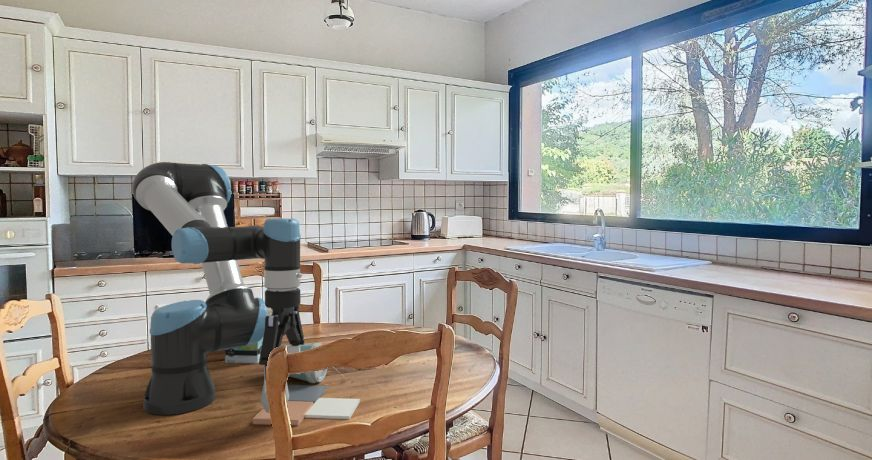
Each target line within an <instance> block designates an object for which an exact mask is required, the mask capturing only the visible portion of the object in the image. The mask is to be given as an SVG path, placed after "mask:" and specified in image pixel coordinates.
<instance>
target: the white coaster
mask: <svg viewBox="0 0 872 460" xmlns="http://www.w3.org/2000/svg"><path fill="white" fill-rule="evenodd" d="M360 402H361V398H339V397H338V398H335V397H320V398H318V399H317V401H316V402H315V403H314V404H313V406H312V407H311V408H310V409H309V410H308V412H307V413H306V414H305V418H306V419H329V420H330V419H331V420H332V419H334V420H350V419H351V418H352V416H353V414H354V412H355V411H356V409H357V407H358V406H359V404H360ZM305 418H304V419H305Z"/></svg>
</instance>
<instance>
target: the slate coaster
mask: <svg viewBox="0 0 872 460" xmlns="http://www.w3.org/2000/svg"><path fill="white" fill-rule="evenodd" d="M287 386H288V392H289V400H288V401H304V402H313V404H314V403H315V402H316V401H317V399H318V398H322V396H323V395H324V394H325V392H326V390H328V388H329V386H328V385H305V384H303V385H302V384H289V385H287Z"/></svg>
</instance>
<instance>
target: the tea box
mask: <svg viewBox="0 0 872 460" xmlns="http://www.w3.org/2000/svg"><path fill="white" fill-rule="evenodd" d="M267 309H268V316H272V311H273V310H272V309H271V308H268V307H267ZM262 342H263V338H262V339H261V340H260V341H259V342H257V343H254V344H250V345H247V346H245V347H242V346H241V347H236V348H232V349H227V350H224V351H225V352H224V353H225V355H224V362H225V364H230V363H231V364H259V359H260V353H261V347H262Z"/></svg>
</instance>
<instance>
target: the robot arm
mask: <svg viewBox="0 0 872 460" xmlns="http://www.w3.org/2000/svg"><path fill="white" fill-rule="evenodd" d="M131 188H132V189H131V191H132V195H133V197H134V199H135V200H136V202H137V203H138V205H140V207H142V208H143V209H145V210H147V211H150V212H151V213H152V214H153V215H154V216H155V217H156V219H158V221H159V222H160V223H161V224H162V226H163V227H164V228H165V229H166V230H167V231H168V233H169V234H170V235H171V236H172V238H171V251H172V254H173V258H174V260H175V261H176V262H177V263H180V264H194V265H198V264H201V265H202V266H201V267H202V270H203V273H204V277H205V281H206V284H207V289H208V292H209V295H208V297H207V298H206V299H205V301H204V300H201V299H192V300H184V301H183V300H182V301H177V302H173V303H169V304H166V305H163V306H161V307H159V308H158V309H156V310H154V311H153V313H152V314H151V316H150V328H149V334H150V360H151V361H150V362H151V363H150V364H151V367H150V368H151V372H150V373H151V375H150V377H149V381H148V382H147V383H148V384H147V386H146V390H145V392H144V396H143V400H142V401H143V404H142V405H143V408H142V409H143V410H144V412H146V413H148V414H151V415H158V416H159V415H160V416H166V415H167V416H168V415H170V416H171V415H178V414H183V413H189V412H192V411H196V410H199V409H202V408H204V407H207V406H208V405H209V404H211V403H213V402H214V401H215V399H216V387H215V384H214V382H213V378H212V376H211V373H210V371H209V369H208V361H207V358H208V354H211V353H215V352H220V351H225V350H227V349H232V348H236V347H241V346H242V347H245V346H247V345H250V344H254V343H257V342H259V341H260V340H261V339H262V338H263V342H262V347H261V353H260V359H259V363H258V364H259V365H260V366H263V367H264V372H263V373H264V375H263V376H264V377H263V379H264V381H263V384H264V383H265V392H266V390H267V389H266V366H267V361H268V357H269V354H270V352H271V351H272V350H273V349H274V348H276V347H279V346H282V342H283V337H284V336H286V338H287V340H288V343H289V344H288V345H289V346H288V353H297V352H300V346H299V345H304V344H305V336H304V332H303V331H304V330H303V325H302V322H301V321H302V320H301V317H300V305H301V289H300V288H299V287H300V286H301V278H302V277H303V273H301V238H302V237H301V233H300V231H301V230H300V222H299V220H298V219H296V218H267V219H265V220H264V224H263V226H262V225H258V224H257V225H248V226H228V224H227V219H226V216H225V212H224V211H225V209H227V207H228V204H229V202H230V199H231V197H232V191H231V189H232V185H231V181H230V177H229V175H228V174H227V172H226V171H225V170H224V169H223V168H222V167H220V166H217V165H213V164H212V165H211V164H208V163H202V164H198V163H197V164H196V163H183V162H170V161H162V162H161V161H160V162H155V163H152V164H149V165H147V166H144V167H143V168H142V169H141V170H140V171H139V172H138V173H137V174H136V175H135V176H134V179H133V181H132V187H131ZM245 260H263V261H264V281H263V282H264V288H266V289H265V291H264V299H263V298H260V297H255V295H254V292H253V289H252V288H251V287H249V286H246V285H245V283H244V280H243V275H242V272H241V269H240V265H239V262H238V261H245ZM267 308H271V309H272V310H273V311H272V316H268V309H267ZM290 345H292V346H290ZM296 374H300V373H296Z"/></svg>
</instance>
